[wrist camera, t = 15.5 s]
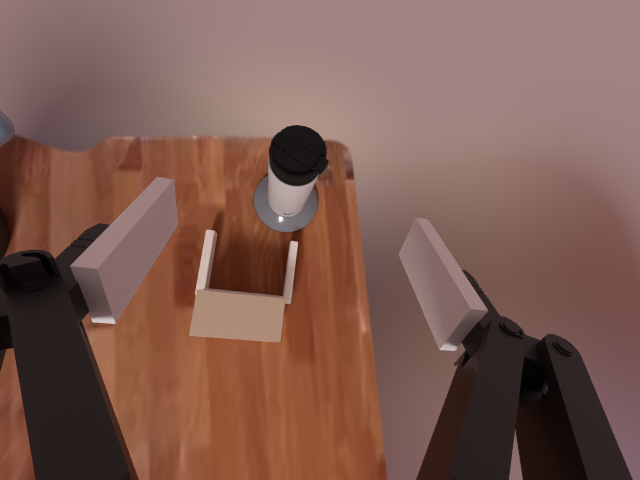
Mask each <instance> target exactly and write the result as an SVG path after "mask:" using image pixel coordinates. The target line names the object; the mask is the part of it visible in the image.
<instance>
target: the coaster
mask: <svg viewBox="0 0 640 480" xmlns="http://www.w3.org/2000/svg"><path fill="white" fill-rule="evenodd" d="M254 205H255V209H256V212H257V215H258V216H259V218H260V219H261V221H262V222H263V223H264V224H265V225H266V226H268V227H269V228H271V229H273V230H276V231H279V232H294V231H298V230H300V229H302V228H304V227H305V226H306V225H308V224H309V223H310V221H311V220H312V219H313V217H314V215H315V213H316V210H317V205H318V198H317V194H316V191H315V189H314V187H313V188H312V190H311V192H310V195H309V197H308V199H307V201H306V203H305V205H304V207H303V209H302V211H301V212H300V213H299V214H297V215H296V216H294V217H290V218H284V217H280V216H278V215H276V214H275V213H274V212H273V211H272V210H271V208H270V206H269V203H268V175H267V176H266V177H265V178H263V179H262V180H261V182H260V183H259V184H258V186H257V188H256V191H255V195H254Z"/></svg>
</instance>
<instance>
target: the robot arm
mask: <svg viewBox="0 0 640 480" xmlns="http://www.w3.org/2000/svg"><path fill="white" fill-rule="evenodd" d="M13 136H14V126H13V124H12V123H11V121H10V120H9V119H8V118H7V117H6V115H5V114H4V113H3V112H2V111H0V147H1V146H3V145H4V144H5V143H7V142H8V141H9V140H10V139H12V137H13ZM177 226H178V217H177V207H176V197H175V187H174V179H168V178H161V177H157V178H156V179H155V180H154V181H153V182H152V183H151V184H150V185H149V186H148V187H147V188H146V189H145V190H144V191H143V192H142V193H141V194H140V195H139V196H138V197H137V198H136V199H135V200H134V201H133V202H132V203H131V204H130V205H129V206H128V207H127V208H126V209H125V210H124V211H123V212H122V213H121V214H120V216H119V217H118V218H117V219H116V220H115V221H114V222H113V223H112V224H111V225H108V224H100V223H99V224H97V225H95V226H93V227H91V228H89V229H87V230H85V231H84V232H83V233H82V234H81V235H80V236H79V237H78V239H77V240H75V241H74V242H73V243H71V244H70V246H68V247H67V248H66V249H65V250H64V251H63V252H62V253H61V254H60V255H59V256H57V257H56V258H55V259H54V258H53V256H52V255H51V254H50V253H49V252H46V251H43V250H27V251H21V252H17V253H14V254H11V255H8V256H6V257H4V258H3V259H2V257H3V255H4V253H5V250H6V247H7V243H8V226H7V222H6V219H5V217H4V215H3V213H2V212H1V210H0V371H1V367H2V363H3V360H4V356H5V352H6V349H10V348H14V353H15V359H16V365H17V371H18V377H19V382H20V388H21V394H22V400H23V406H24V412H25V418H26V424H27V430H28V436H29V442H30V448H31V454H32V460H33V465H34V471H35V477H36V480H139V479H138V476H137V474H136V471H135V468H134V465H133V463H132V460H131V457H130V454H129V451H128V449H127V446H126V443H125V440H124V437H123V435H122V432H121V429H120V426H119V423H118V421H117V418H116V415H115V412H114V410H113V407H112V404H111V401H110V398H109V396H108V393H107V390H106V387H105V384H104V382H103V379H102V376H101V373H100V370H99V368H98V365H97V362H96V359H95V356H94V354H93V351H92V348H91V345H90V343H89V340H88V337H87V334H86V331H85V329H84V326H83V324H82V320H83V318H84V317H85V316H86V314H87V313H88V312H89V314H90V317H91V319H92V322H99V323H111V324H116V322H117V321H118V319H119V318H120V316H121V314H122V313H123V311H124V310H125V308H126V307H127V305H128V303H129V302H130V300H131V299H132V297H133V296H134V294H135V292H136V291H137V289H138V288H139V286H140V284H141V283H142V281H143V280H144V278H145V277H146V275H147V273H148V272H149V270H150V269H151V267H152V266H153V264H154V262H155V261H156V259H157V258H158V256H159V254H160V253H161V251H162V250H163V248H164V247H165V245H166V243H167V242H168V240H169V239H170V237H171V236H172V234H173V232H174V231H175V229H176V228H177ZM399 256H400V259H401V261H402V263H403V265H404V268H405V270H406V273H407V275H408V277H409V280H410V282H411V284H412V287H413V289H414V291H415V294H416V296H417V298H418V301H419V303H420V305H421V308H422V310H423V312H424V315H425V317H426V319H427V322H428V324H429V326H430V329H431V331H432V334H433V336H434V338H435V341H436V343H437V345H438V348H439V349H440V350H451V351H455V350H456V349H457V348H458V346H459V345H460V344H461V343H462V344H463V346H464V348H465V349H466V350H465V352H464V353H463V354H462V355H461V357H459V359H458V360H457V361H456V362H455V363H454V365H455V366H456V365H457V364H458V367H457V369H456V372H455V375H454V377H453V380H452V383H451V386H450V389H449V391H448V394H447V397H446V399H445V402H444V405H443V408H442V410H441V413H440V416H439V419H438V421H437V424H436V427H435V430H434V432H433V435H432V438H431V441H430V443H429V446H428V449H427V452H426V454H425V457H424V460H423V463H422V465H421V468H420V471H419V473H418V476H417V479H416V480H509V474H510V465H511V458H512V449H513V441H514V433H515V430H516V436H517V443H518V450H519V456H520V463H521V470H522V476H523V480H632V477H631V475H630V472H629V470H628V468H627V466H626V463H625V460H624V458H623V456H622V453H621V451H620V449H619V446H618V444H617V441H616V439H615V437H614V434H613V432H612V429H611V427H610V424H609V422H608V420H607V417H606V415H605V412H604V410H603V408H602V405H601V403H600V400H599V398H598V396H597V393H596V391H595V388H594V386H593V384H592V382H591V379H590V376H589V374H588V372H587V369H586V367H585V364H584V362H583V360H582V357H581V355H580V354H579V352H578V350H577V349H576V348H575V347H574V346H573V345H572V344H571V343H570V342H568V341H567V340H565V339H563V338H561V337H560V336H557V335H554V334H547V335H546V336H545V337H544V338H543V339H542V340H538V339H536V338H533V337H530V336H527V335H525V333H524V332H523V330H522V329H521V328H520V327H519V326H518V325H517V324H516V323H515V322H513V321H512V320H510V319H508V318H506V317H502V316H500V315H499V314H498V312H497V311H496V309H495V308H494V307H493V305H492V304H491V302H490V301H489V299H488V298H487V296H486V295H485V294H484V292H483V291H482V289H481V288H480V287H479V285H478V283H477V282H476V280H475V279H474V278H473V277H472V276H471V275H470V274H469V273H468V272H467V271H465V270H461V269H460V267H459V266H458V264H457V262H456V261H455V259H454V258H453V256H452V255H451V254H450V252H449V251H448V249H447V247H446V246H445V244H444V243H443V241H442V240H441V238H440V237H439V235H438V234H437V232H436V231H435V229H434V228H433V226H432V225H431V223H430V222H429V220H427V219H420V218H416V219H415V222H414V223H413V226H412V227H411V230H410V232H409V234H408V236H407V238H406V240H405V242H404V244H403V247H402V249H401V251H400V253H399ZM547 387H548V389H547Z"/></svg>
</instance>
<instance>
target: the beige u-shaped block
mask: <svg viewBox="0 0 640 480" xmlns="http://www.w3.org/2000/svg"><path fill="white" fill-rule="evenodd" d="M217 235H218V234H217V233H216V232H215V231H213V230H206V235H205V241H204V246H203V252H202V258H201V263H200V269H199V275H198V280H197V286H196V292H195V295H196V299H195V305H194V310H193V316H192V322H191V328H190V333H189V336H201V337H214V338H227V339H241V340H254V341H267V342H280V339H281V331H282V323H283V315H284V307H285V304H291V297H292V288H293V280H294V272H295V264H296V256H297V248H298V242H295V241H291V242H290V244H289V251H288V259H287V267H286V275H285V283H284V291H283V296H278V295H268V294H259V293H249V292H239V291H229V290H220V289H210V288H209V282H210V277H211V271H212V265H213V259H214V253H215V247H216V241H217Z"/></svg>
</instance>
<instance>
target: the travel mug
mask: <svg viewBox="0 0 640 480" xmlns="http://www.w3.org/2000/svg"><path fill="white" fill-rule="evenodd" d="M326 153H327V152H326V146H325V143H324V141H323V139H322V138H321V136H320V135H319V134H318V133H317V132H315V131H314V130H312V129H310V128H308V127H305V126H299V125H294V126H289V127H286V128H285V129H283V130H281V132H279V133H277V134H276V135H275V136H274V138H273V139H272V141H271V145H270V148H269V159H268V160H269V162H268V203H269V206H270V208H271V210H272V211H273V212H274V213H275V214H276V215H278V216H280V217H284V218H290V217H294V216H296V215H297V214H299V213H300V212H301V211H302V209H303V207H304V205H305V203H306V201H307V199H308V197H309V195H310V192H311V190H312V188H313V186H314V184H315V182H316V180H317V178H318V176H319V175H320V174H322V172H323V171H324V170H325V168H326V167H327V164H328V160H327V159H326Z"/></svg>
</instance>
